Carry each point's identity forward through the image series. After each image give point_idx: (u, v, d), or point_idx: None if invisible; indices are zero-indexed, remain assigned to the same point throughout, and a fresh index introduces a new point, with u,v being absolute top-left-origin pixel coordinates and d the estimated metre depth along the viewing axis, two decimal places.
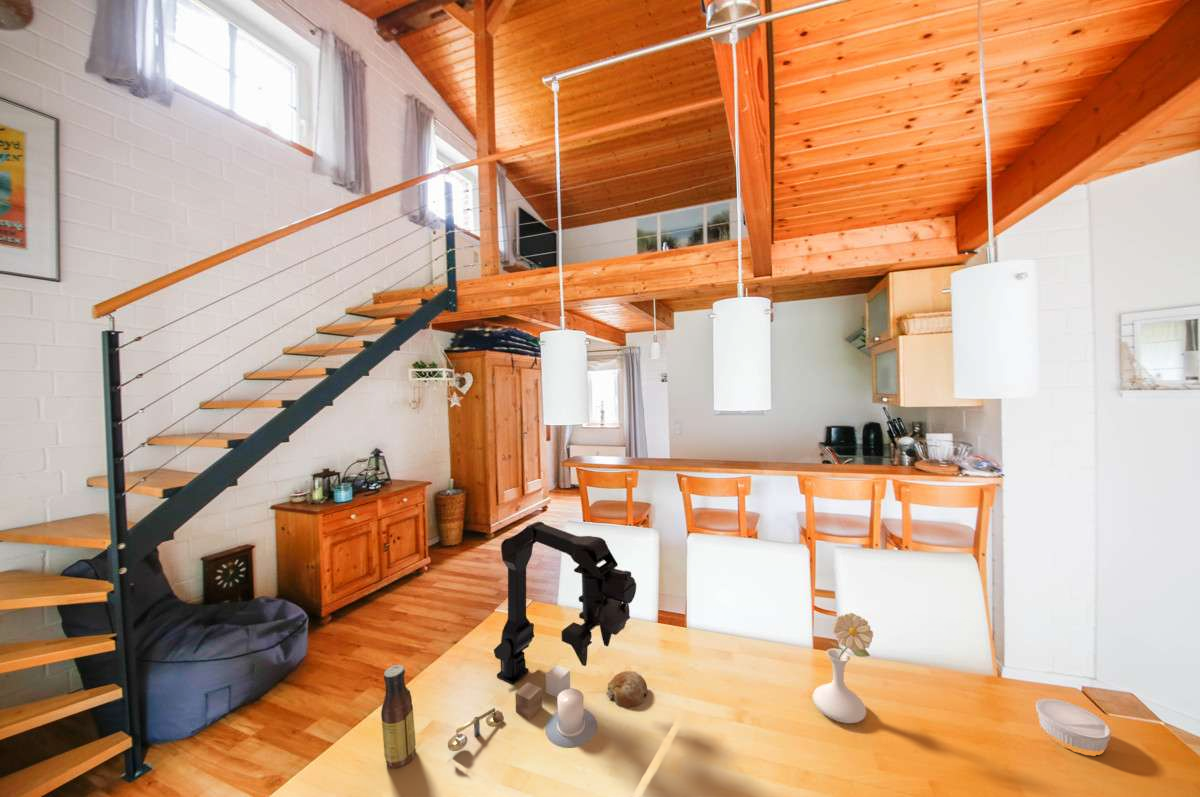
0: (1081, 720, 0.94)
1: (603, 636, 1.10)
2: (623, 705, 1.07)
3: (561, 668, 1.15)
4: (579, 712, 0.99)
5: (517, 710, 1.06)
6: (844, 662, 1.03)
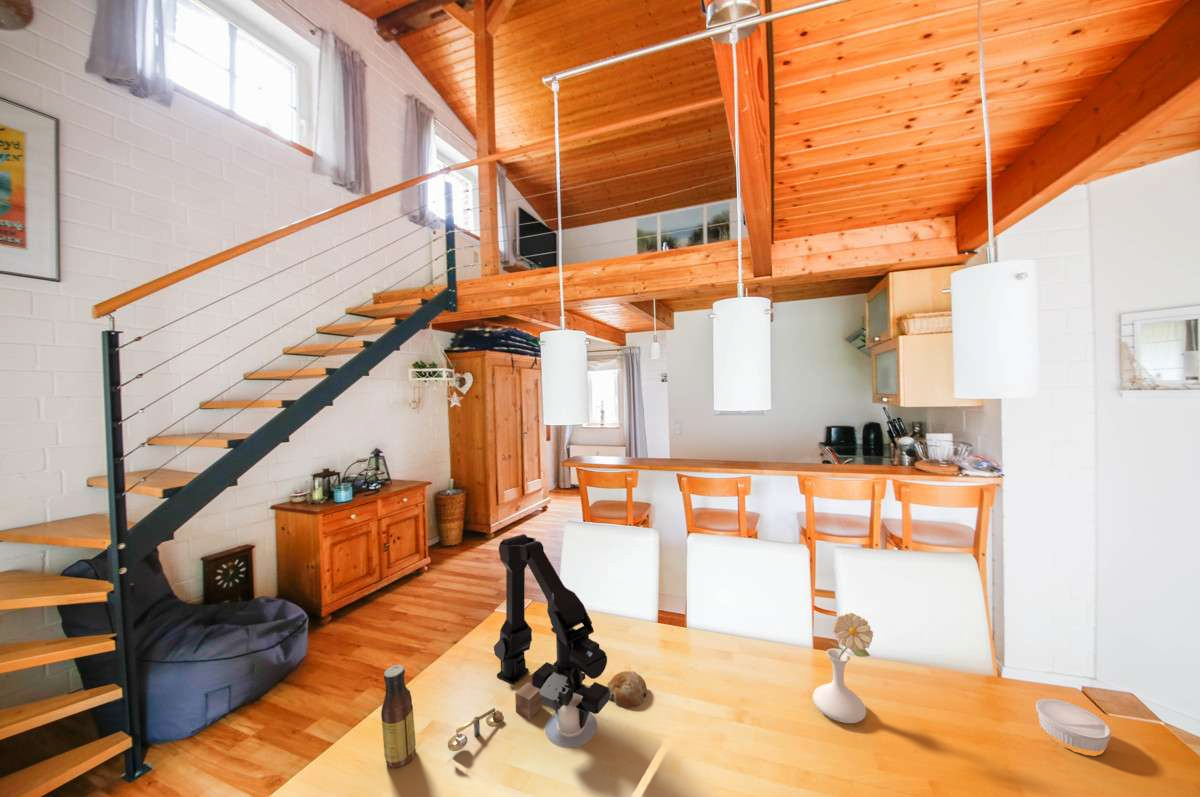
0: (1081, 720, 0.94)
1: None
2: (622, 705, 1.07)
3: None
4: None
5: (517, 710, 1.06)
6: (844, 662, 1.03)
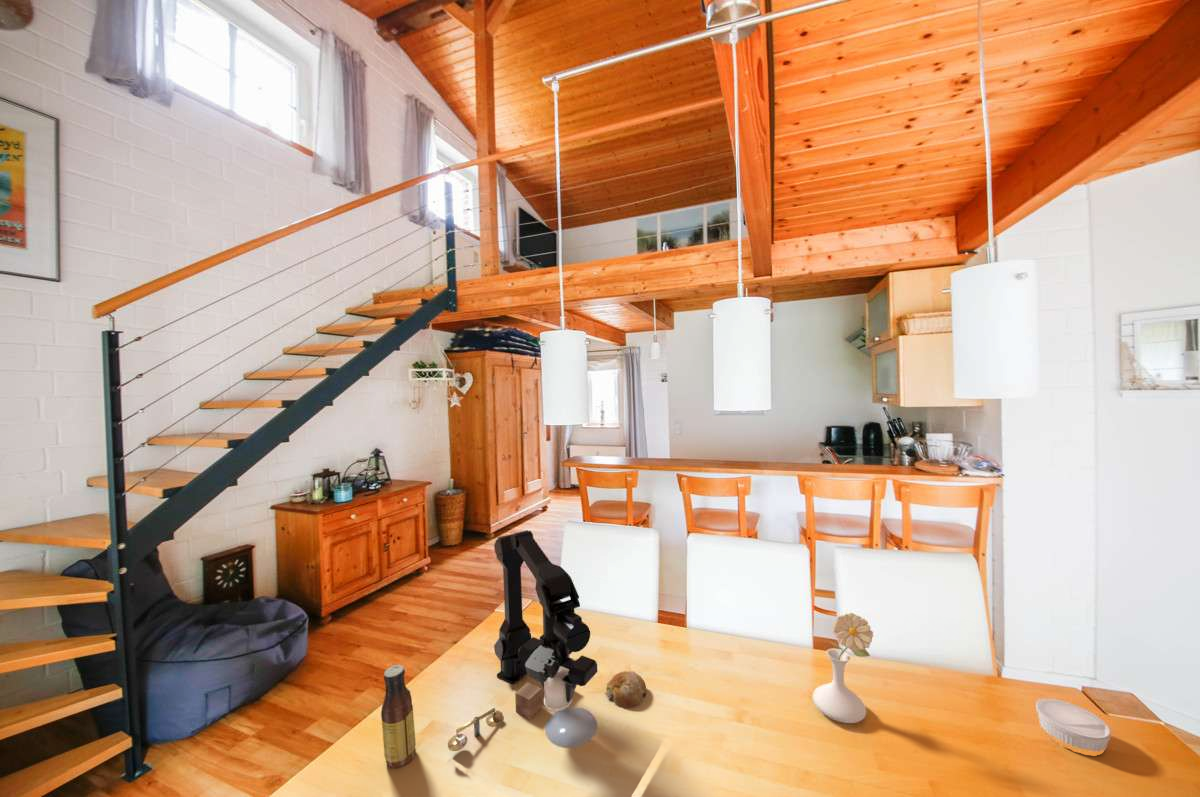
0: (1081, 720, 0.94)
1: None
2: (622, 705, 1.07)
3: None
4: (565, 686, 0.97)
5: (517, 710, 1.06)
6: (844, 662, 1.03)
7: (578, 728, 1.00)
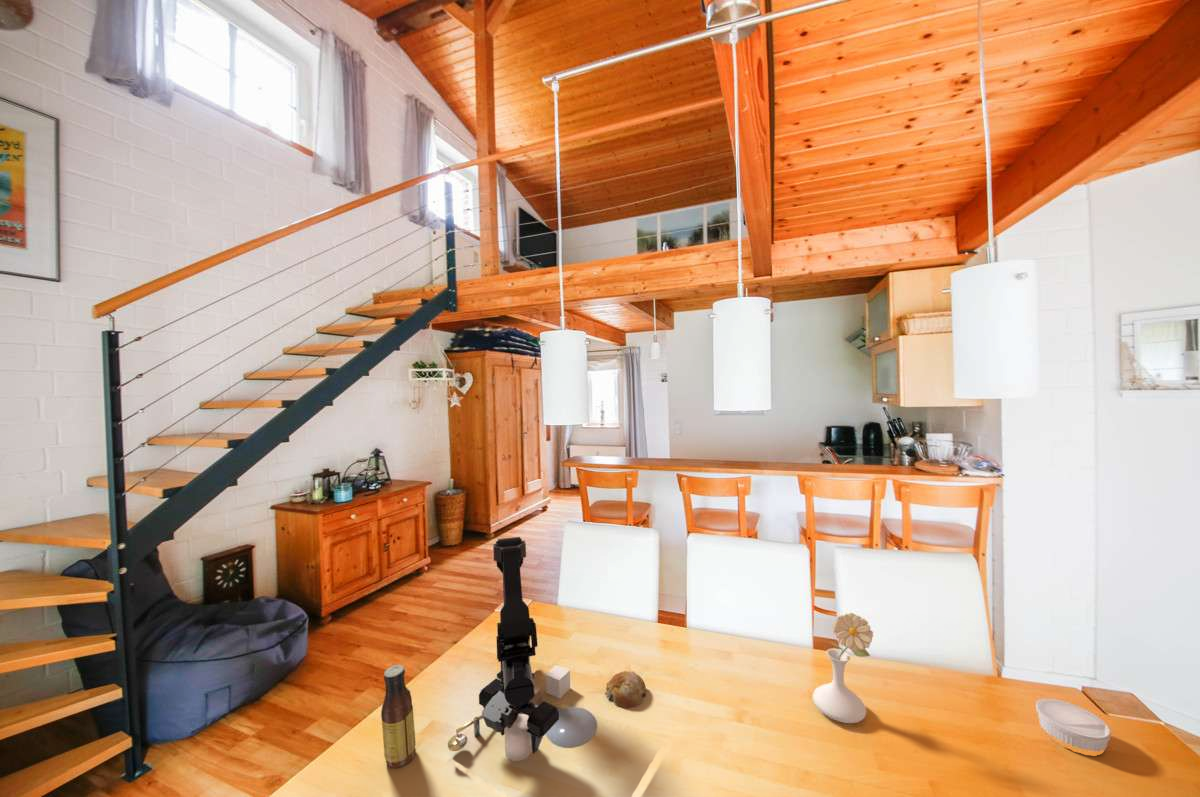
0: (1081, 720, 0.94)
1: None
2: (622, 705, 1.07)
3: (561, 668, 1.15)
4: (526, 741, 0.93)
5: None
6: (844, 662, 1.03)
7: (578, 728, 1.00)
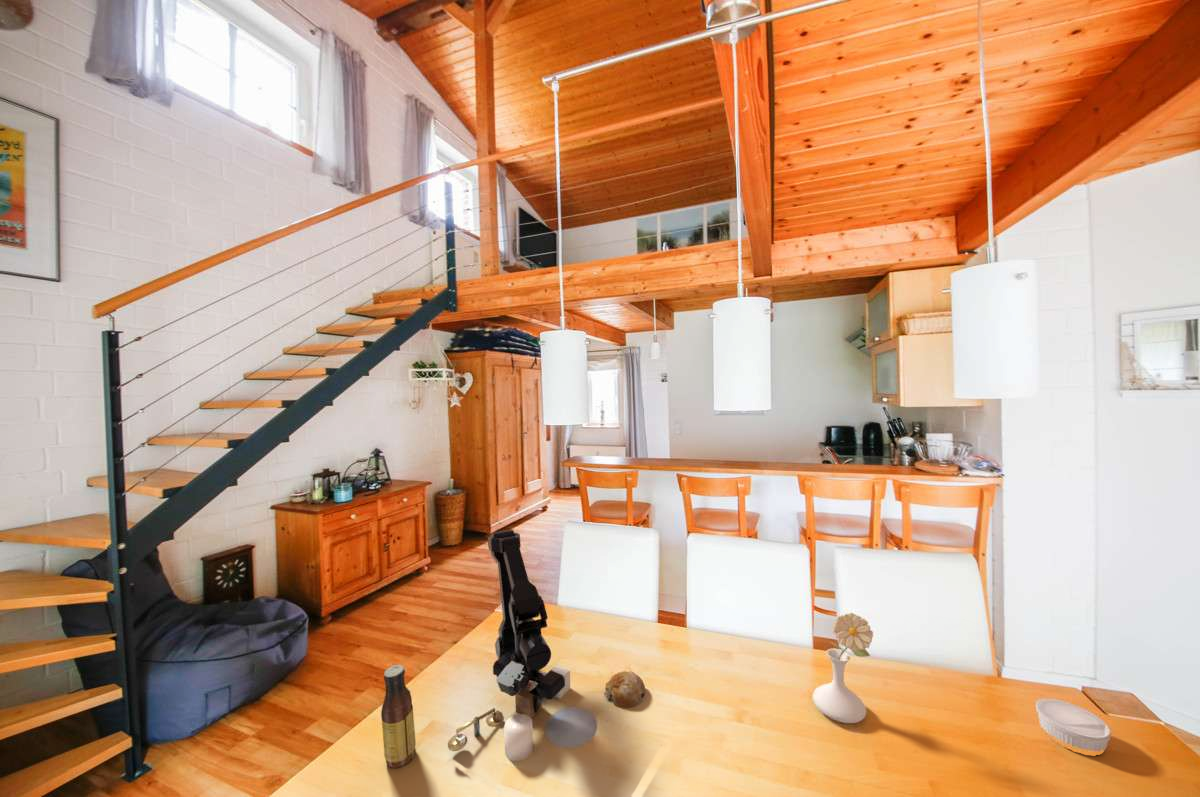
0: (1081, 720, 0.94)
1: None
2: (621, 705, 1.07)
3: (561, 668, 1.15)
4: (526, 741, 0.93)
5: (517, 710, 1.06)
6: (844, 662, 1.03)
7: (578, 728, 1.00)
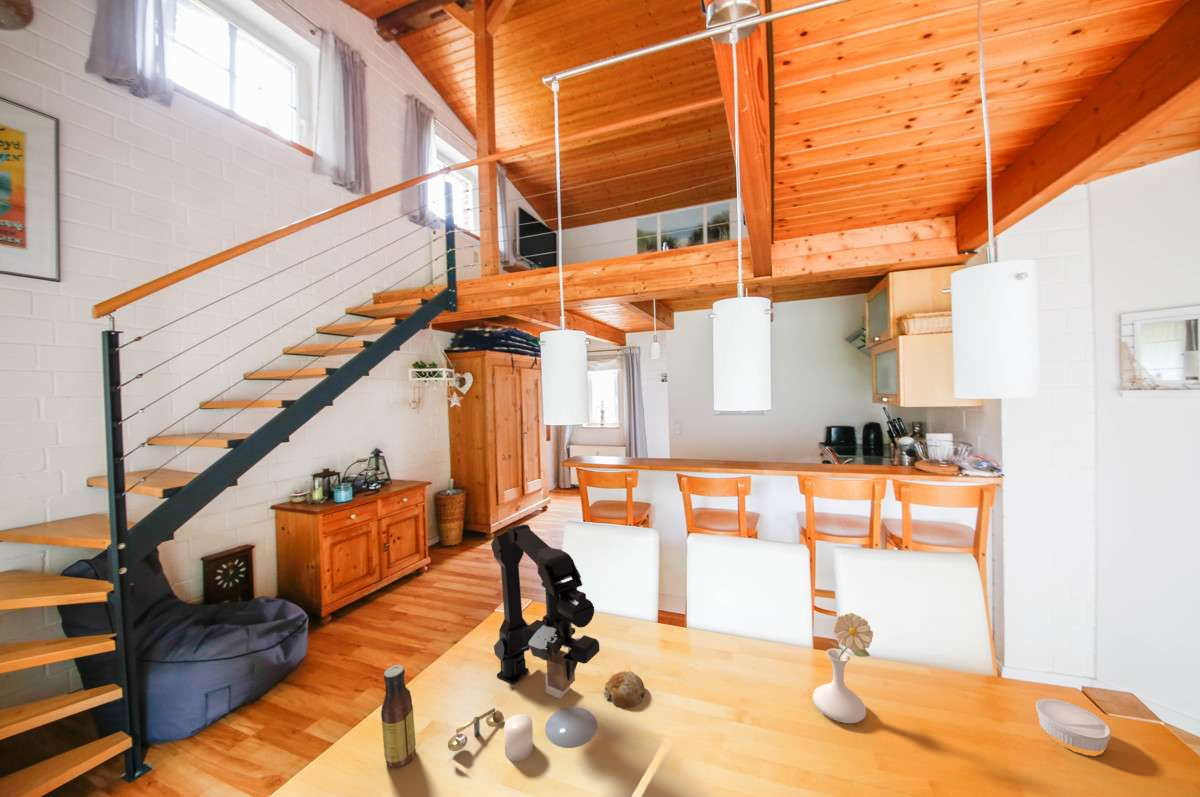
0: (1081, 720, 0.94)
1: None
2: (620, 705, 1.07)
3: None
4: (526, 741, 0.93)
5: (548, 678, 1.00)
6: (844, 662, 1.03)
7: (578, 728, 1.00)
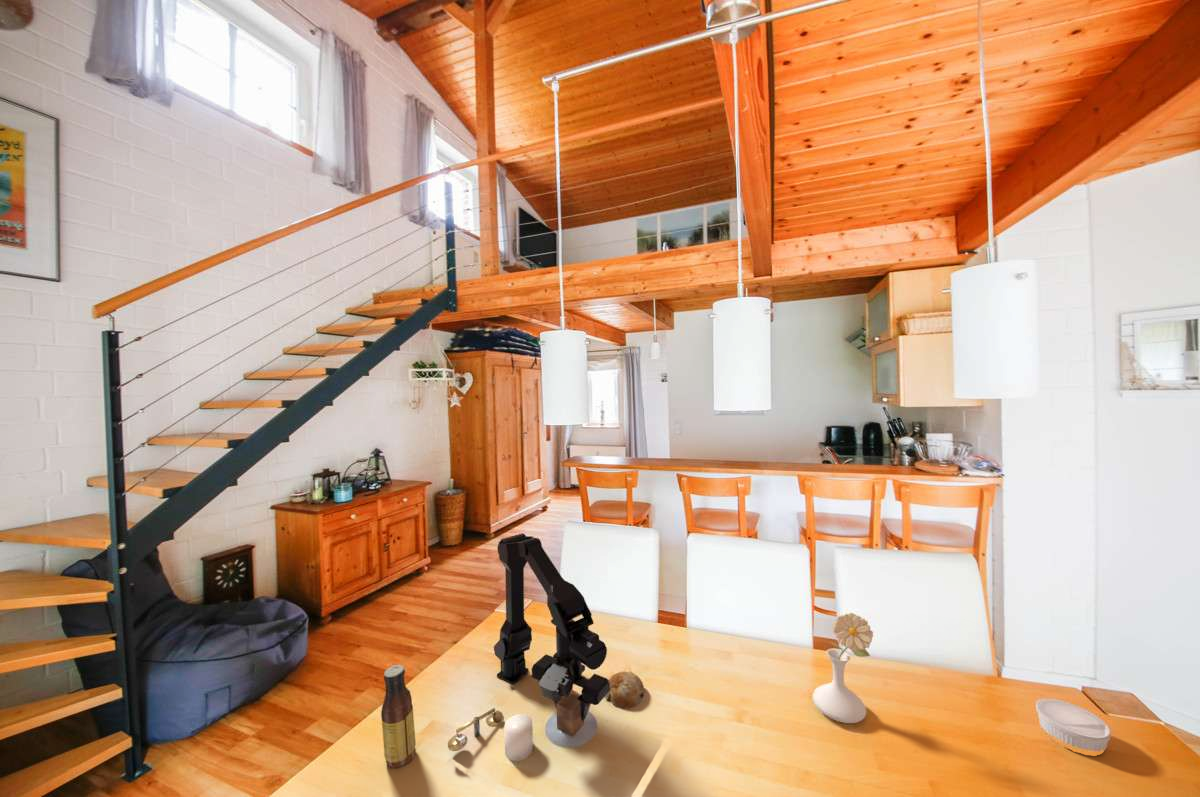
0: (1081, 720, 0.94)
1: None
2: (620, 705, 1.07)
3: None
4: (526, 741, 0.93)
5: (558, 722, 1.00)
6: (844, 662, 1.03)
7: None
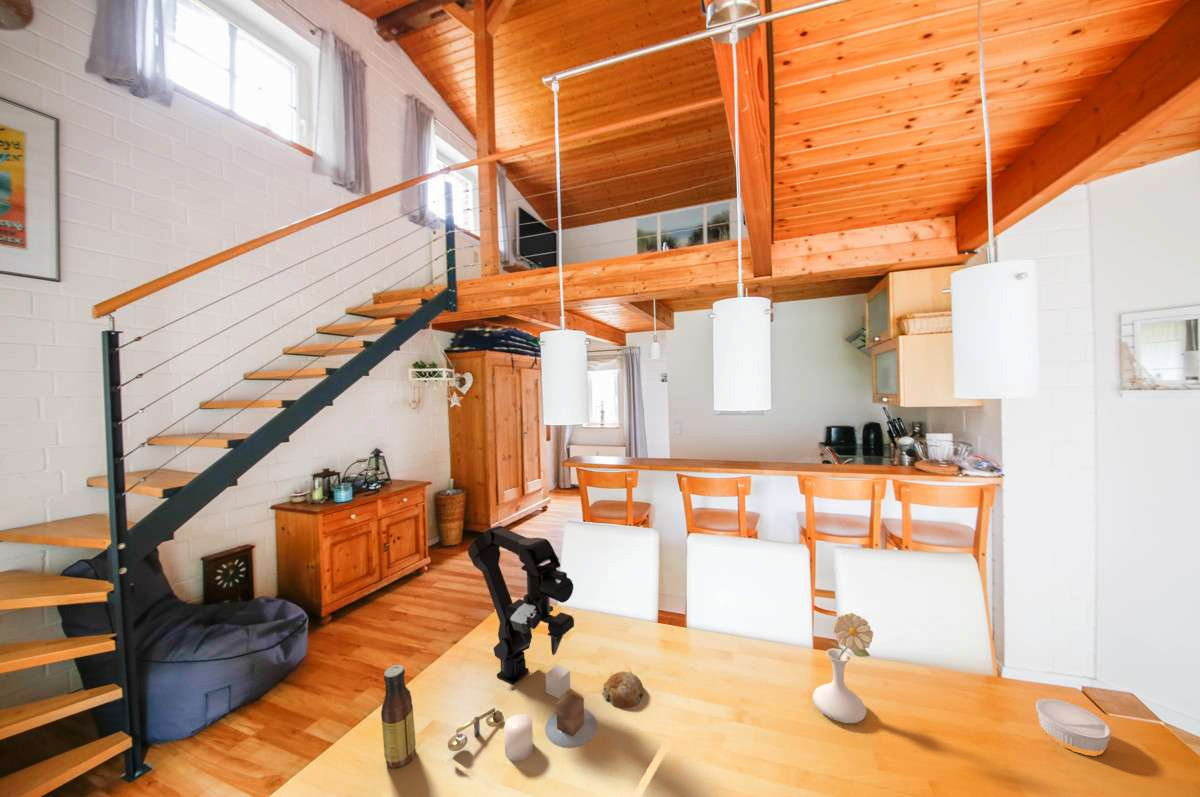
0: (1081, 720, 0.94)
1: None
2: (619, 706, 1.06)
3: (561, 668, 1.15)
4: (526, 741, 0.93)
5: (558, 722, 1.00)
6: (844, 662, 1.03)
7: None
